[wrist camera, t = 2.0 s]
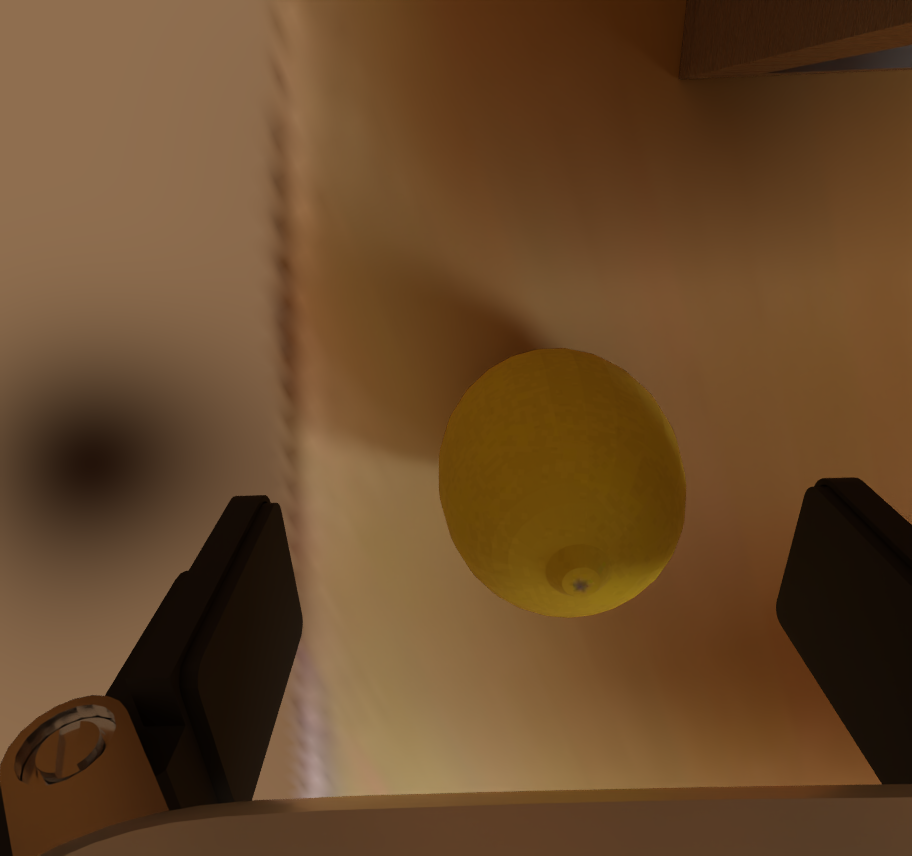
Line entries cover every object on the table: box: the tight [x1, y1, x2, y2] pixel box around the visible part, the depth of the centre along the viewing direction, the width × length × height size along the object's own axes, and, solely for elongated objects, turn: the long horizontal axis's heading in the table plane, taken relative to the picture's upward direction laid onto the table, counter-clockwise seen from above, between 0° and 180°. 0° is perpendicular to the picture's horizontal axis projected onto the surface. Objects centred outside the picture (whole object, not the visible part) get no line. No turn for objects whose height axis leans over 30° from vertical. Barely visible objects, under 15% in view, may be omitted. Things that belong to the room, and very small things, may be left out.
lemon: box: [439, 348, 686, 618], centre depth 14 cm, size 6×6×8 cm
